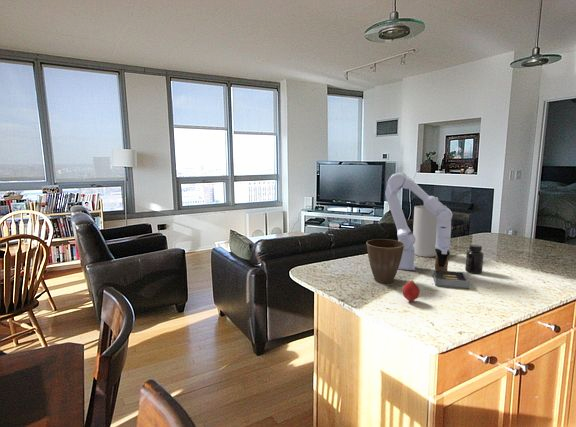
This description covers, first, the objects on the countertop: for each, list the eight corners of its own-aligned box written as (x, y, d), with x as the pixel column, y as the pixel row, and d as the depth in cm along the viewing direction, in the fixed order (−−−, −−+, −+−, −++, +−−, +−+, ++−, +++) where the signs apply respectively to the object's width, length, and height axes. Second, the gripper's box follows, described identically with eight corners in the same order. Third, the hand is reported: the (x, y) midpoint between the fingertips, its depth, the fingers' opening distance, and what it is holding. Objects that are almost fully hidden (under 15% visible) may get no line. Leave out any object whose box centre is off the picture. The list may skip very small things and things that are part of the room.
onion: (399, 298, 129) (400, 277, 128) (414, 298, 129) (415, 277, 128) (405, 305, 123) (406, 283, 122) (421, 304, 124) (423, 282, 122)
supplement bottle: (484, 274, 155) (486, 247, 153) (467, 273, 156) (469, 247, 154) (479, 269, 161) (481, 244, 159) (463, 268, 163) (465, 243, 161)
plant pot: (401, 288, 139) (403, 248, 136) (362, 284, 144) (364, 245, 141) (403, 276, 152) (404, 240, 150) (368, 273, 158) (369, 237, 155)
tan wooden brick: (435, 269, 158) (436, 256, 157) (434, 268, 159) (435, 256, 158) (447, 271, 156) (448, 257, 155) (446, 270, 158) (448, 257, 157)
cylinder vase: (439, 253, 190) (442, 206, 186) (434, 258, 179) (437, 209, 175) (415, 249, 196) (417, 205, 192) (409, 255, 186) (411, 207, 182)
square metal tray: (435, 286, 141) (435, 278, 141) (432, 276, 153) (433, 269, 152) (468, 289, 138) (469, 281, 137) (463, 279, 149) (463, 272, 149)
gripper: (455, 240, 147) (453, 271, 150) (451, 233, 161) (448, 262, 163) (437, 239, 149) (435, 270, 152) (434, 232, 163) (432, 260, 165)
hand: (441, 265), depth 158 cm, fingers closed on tan wooden brick, 1 cm apart
